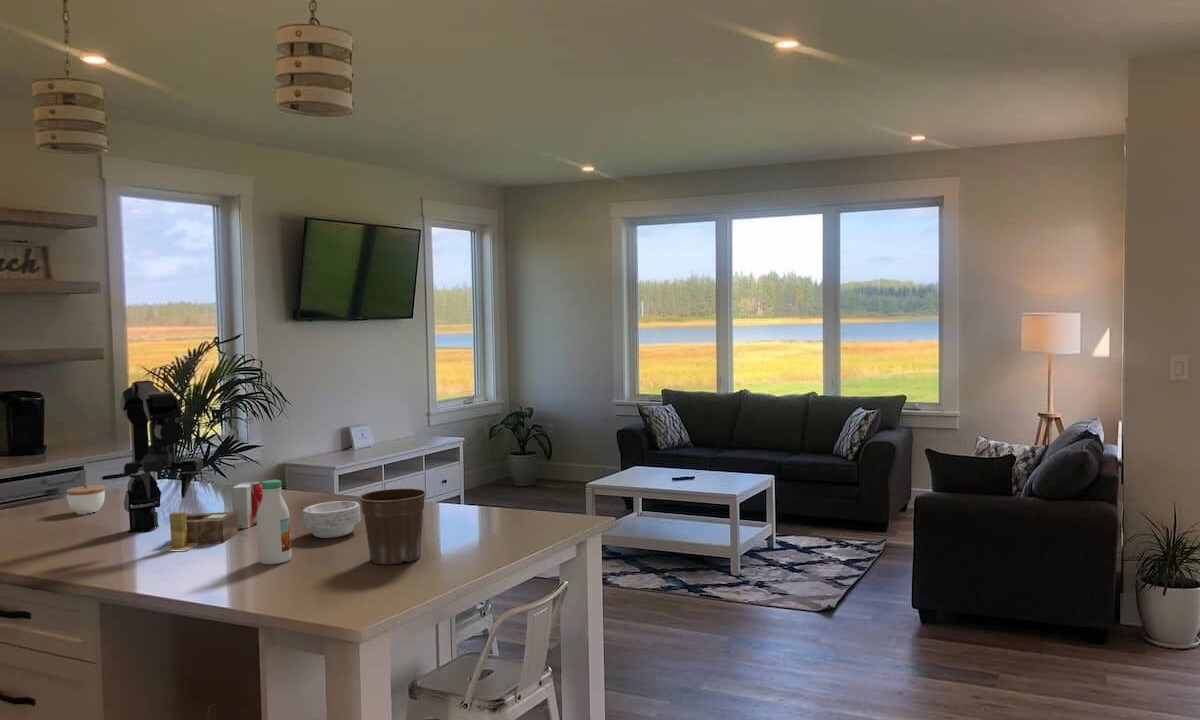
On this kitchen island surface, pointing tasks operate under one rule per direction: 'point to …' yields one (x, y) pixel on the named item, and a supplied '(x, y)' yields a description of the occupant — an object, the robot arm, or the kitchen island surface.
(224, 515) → the on button
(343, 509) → the paper bowls
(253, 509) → the soda can
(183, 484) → the robot arm
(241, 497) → the skincare box
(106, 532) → the kitchen island surface
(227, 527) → the block
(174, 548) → the pad
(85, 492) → the lidded jar
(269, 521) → the milk bottle
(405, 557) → the plant pot
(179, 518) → the square wooden peg
